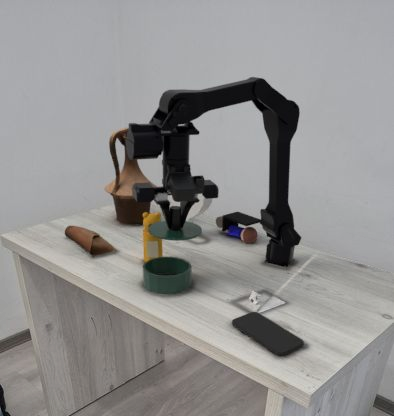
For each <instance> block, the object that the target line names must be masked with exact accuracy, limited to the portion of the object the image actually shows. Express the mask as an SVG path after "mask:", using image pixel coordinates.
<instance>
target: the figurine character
mask: <svg viewBox="0 0 394 416" xmlns="http://www.w3.org/2000/svg"><path fill="white" fill-rule="evenodd" d="M260 221H261V218H259V217H255V216H252V215H249V214H247V213H243V212H240V211H235V212H231V213H226V214H223V215H221V216H220V215H219V216H217V217H216V218H215V224H216V226H217V228H218V229H221V232H222V233H224V235H228V236H233V237H236V238H239V239H241V241H242V242H243V243H244V244H249V245H250V244H253V243H255V242H256V241H257V240H258V235H259V234H258V231H257V229H256V228H254V227H253V226H252V225H257V224H260ZM239 225H241V226H239ZM242 226H244V227H242Z"/></svg>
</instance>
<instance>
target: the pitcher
mask: <svg viewBox="0 0 394 416" xmlns="http://www.w3.org/2000/svg"><path fill="white" fill-rule="evenodd" d="M128 130H129V126H127V127H124V128H120V129H117V130H115V131H113V132H112V133H111V135H110V137H109V140H108V141H109V142H108V148H109V152H110V156H111V160H112V163H113V167H114V172H115V178H114V179H112V180H111V182H109V183H107V184H106V185H105V186H104V191H105V192H106V193H107V194H109V195H110V196H111V197H112V199H113V204H114V209H115V214H116V215H115V217H116V221H117V222H118V223H120V224H122V225H126V226H127V225H128V226H139V225H143V220H144V218H143V213H145V212H147V213H148V214H151V205H152V204H151V203H152V202H137V201H136V200H135V198H134V197H133V195H132V186H133V185H134V183H147V182H150V184H151V185H152V186H153V187H158V186H157V185H156V184H154V183H153V182H151V180H150V179H148V178H147V177H146V175H145V174H144V173H143V172H142V170H141V167H140V166H139V161H138V160H130V159H129V157H128V154H127V149H126V139H127V132H128ZM117 140H118V142H119V143H120V144H121V145H122V146H123V147H124V161H123V167H122V169H121V171H120V163H119V159H118V155H117V154H118V153H117V148H116V143H117Z"/></svg>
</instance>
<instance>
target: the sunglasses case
mask: <svg viewBox="0 0 394 416" xmlns="http://www.w3.org/2000/svg"><path fill="white" fill-rule="evenodd" d="M64 236H65V237H66V238H68V239H69V240H71V241H73V242H74V243H75V244H76V245H78V246H79V247H80V248H81V249H83V250H85V252H86V253H88V254H89V255H90V256H92V257H93V258H94V257H97V256H100V255H105V254H109V253H115V252H116V251H117V250H116V248H115V247H114V246H113V245H112V244H111V243H110V242H108V241H107V240H106V239H104V238H103V237H102V236H101V234H100V233H97V232H96V231H94V230H90V229H88V228H85V227H83V226H78V225H67V227H65V229H64Z"/></svg>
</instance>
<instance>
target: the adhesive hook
mask: <svg viewBox="0 0 394 416" xmlns="http://www.w3.org/2000/svg"><path fill="white" fill-rule="evenodd" d="M261 297H262V294H259V293H258V292H256V291H254V290H251V293H250V296H249V297H248V301H250V302H251V301H253V302H252V304H253V305H257V304H258V303H259V302H260V300H261V299H260V298H261ZM284 304H286V302H285V301H283V300H282V299H280V298H278V297H276V296H275V295H273V294H272V295H271V296H269V298H267V299H266V300H265V301H264V302H263V303H262V305H260V306H259V307H258V308H257V309H256V312H257V313H259V314H261V313H264V312H265V311H268V310H271V309H274V308H277V307H279V306H281V305H284Z"/></svg>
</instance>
